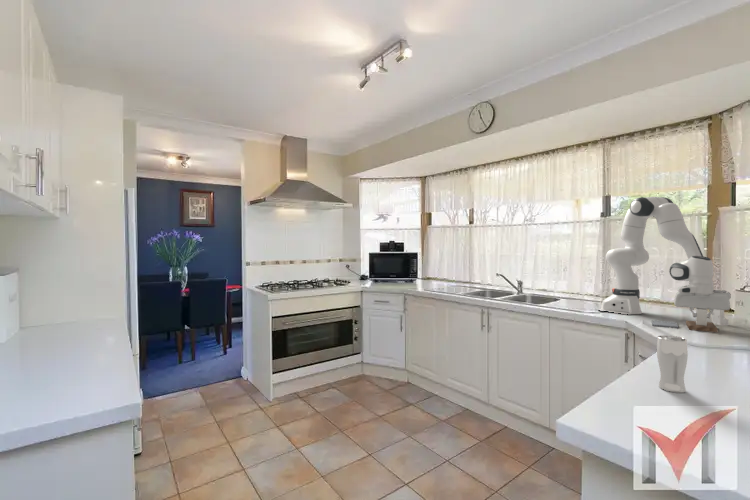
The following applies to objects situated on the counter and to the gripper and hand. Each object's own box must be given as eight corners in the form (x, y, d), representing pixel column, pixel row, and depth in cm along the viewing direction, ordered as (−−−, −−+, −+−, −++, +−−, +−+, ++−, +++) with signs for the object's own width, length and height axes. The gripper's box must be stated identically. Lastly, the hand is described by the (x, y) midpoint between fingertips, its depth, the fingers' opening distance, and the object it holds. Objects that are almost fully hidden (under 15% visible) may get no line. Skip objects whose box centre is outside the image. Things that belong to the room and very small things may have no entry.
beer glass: (651, 385, 109) (650, 335, 109) (672, 383, 109) (672, 334, 109) (671, 394, 102) (671, 341, 102) (694, 393, 102) (694, 340, 102)
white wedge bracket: (726, 322, 177) (719, 305, 181) (713, 328, 186) (707, 312, 190) (735, 322, 177) (728, 305, 181) (722, 328, 185) (715, 312, 189)
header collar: (689, 329, 174) (689, 325, 174) (685, 324, 185) (685, 320, 185) (717, 332, 168) (717, 328, 168) (712, 326, 179) (712, 322, 179)
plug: (697, 327, 175) (697, 309, 175) (695, 325, 179) (696, 307, 179) (706, 328, 173) (707, 309, 173) (705, 326, 177) (705, 308, 177)
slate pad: (652, 325, 183) (652, 324, 183) (651, 321, 192) (651, 320, 192) (678, 328, 177) (678, 326, 177) (675, 323, 187) (675, 322, 187)
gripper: (729, 289, 173) (729, 318, 173) (674, 287, 185) (674, 314, 185) (732, 291, 167) (732, 321, 168) (675, 288, 179) (675, 316, 180)
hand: (701, 317), depth 176 cm, fingers closed on plug, 3 cm apart
